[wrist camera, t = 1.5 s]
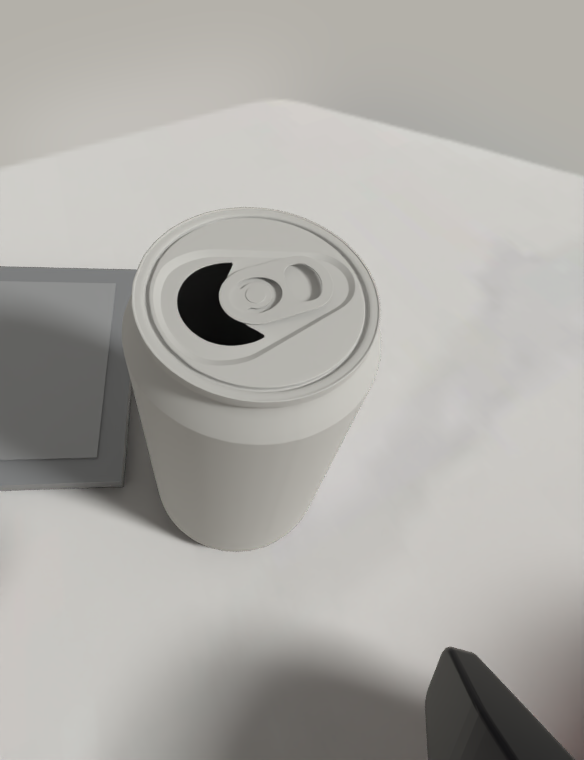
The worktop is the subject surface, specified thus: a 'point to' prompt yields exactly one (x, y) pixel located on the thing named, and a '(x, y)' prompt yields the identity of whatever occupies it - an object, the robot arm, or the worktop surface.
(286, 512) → the beverage can
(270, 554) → the worktop surface
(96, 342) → the coaster
